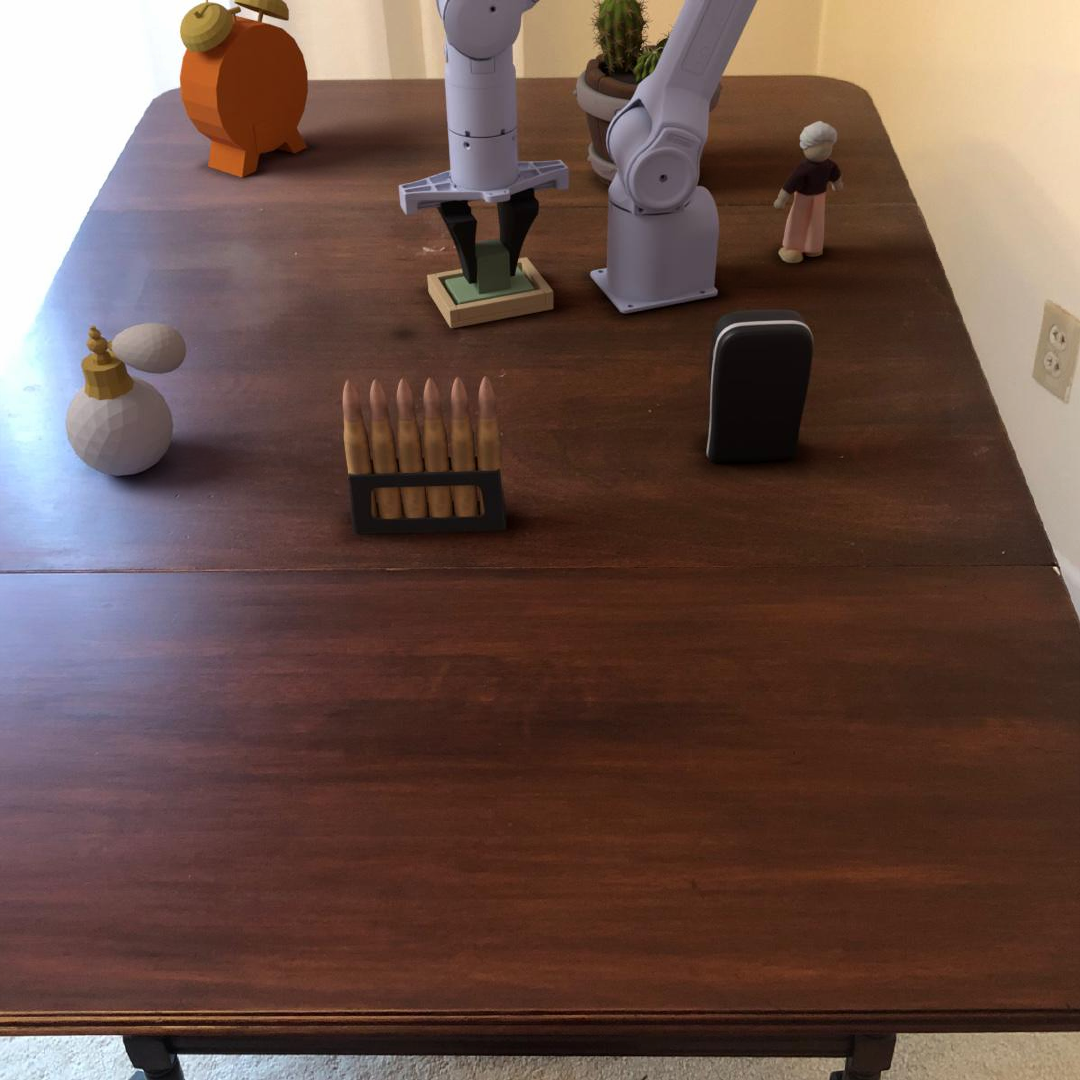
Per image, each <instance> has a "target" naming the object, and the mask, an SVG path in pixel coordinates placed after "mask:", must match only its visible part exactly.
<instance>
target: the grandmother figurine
mask: <svg viewBox="0 0 1080 1080" xmlns="http://www.w3.org/2000/svg"><path fill="white" fill-rule="evenodd" d="M799 140H800V142H799V146H800V148H801V149H802V150H803V153H804V156H805V157H806V158H805V159H804V160H802V161H800V162H798V164H797V165H796V166H795V168H794V169H793V170H792V172H791V173H790V175H789V176H788V178H787V179H786V180H785V181H784V183H783V184H782V186H781V189H780V191H779V193H778V195H777V199H776V200H775V201H774V202H773V207H774V209H775V210H778V211H782V210H784V209H785V207H786V203H787V202H789V199H790V198H791V196H792V195H793V194H794V198H793V199H794V200H793V201H792V205H791V208H790V211H789V212H788V213H789V214H788V216H787V219H786V222H785V227H784V234H783V239H782V246H783V247H781V248H780V249H779V251H778V255H779V257H780V259H781V260H782V261H783V262H785V263H788V264H797V263H800V262H802V261H803V260H804V257H803V255H804V256H807V257H810V258H814V257H819V256H822V255H823V253H824V252H823V249H824V243H825V240H824V239H825V220H826V219H825V215H826V214H825V213H826V195H827V190H828V184H829V183H830V184H831V189H832V190H833V192H836V193H839V192H841V191H842V190H843V189H844V183H843V181H842V171H841V168H840V167H839V165H838V164H837V163H836V162H835V161H833V160H832V159H829V158H830V156H831V154H832V152H833V149H834V148H833V146H834V145H835V143H837V141H838V133H837V131H836V128H835V127H833V126H831V125H830V124H829V123H825V122H824V121H822V120H818V121H815V122H813V123H811V124H810V125H807V126H805V127H803V130H802V131H801V134H800V135H799Z"/></svg>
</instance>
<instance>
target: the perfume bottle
mask: <svg viewBox="0 0 1080 1080" xmlns="http://www.w3.org/2000/svg"><path fill="white" fill-rule="evenodd" d="M89 328H90V330H88V333H87V335H88V337H89V338H88V339H87V341H86V347H87V348H88V350H89V351H90V352H91V353H89V354H87V355H86V356H85V357H83V358H82V360H81V364H80V367H81V370H82V373H83V377H84V380H85V384H83V386H81V387H80V389H79V390H78V391H77V392H76V393H75V395H73V397H72V398H71V400H70V403H69V405H68V407H67V410H66V417H65V423H64V425H65V431H66V436H67V440H68V442H69V444H70V446H71V448H72V450H73V452H74V453H75V455H76V456H77V457H78V458H79V459H80V460H81V461H82V462H83V463H84V464H85V465H86V466H88V467H90V468H91V469H93V470H95V471H97V472H99V473H101V474H106V475H111V476H115V477H119V476H129V475H130V476H131V475H136V474H139V473H141V472H144V471H146V470H148V469H150V468H151V467H153V466H154V465H156V464H157V463H159V461H160V460H161V459H162V457H163V456H164V455H165V454H166V452H167V451H168V449H169V446H170V444H171V442H172V438H173V431H174V421H173V416H172V415H173V414H172V411H171V408H170V407H169V405H168V403H167V401H166V399H165V397H164V396H163V395H162V394H161V392H160V391H158V389H157V388H156V387H155V386H153V384H151V383H149V382H148V381H146V380H144V379H142V378H140V377H139V376H135V375H131V374H129V373H128V369H127V366H128V367H131V368H133V369H135V370H137V371H140V372H144V373H148V374H158V375H162V374H167V373H171V372H173V371H176V370H177V369H179V368H180V367H181V365H182V364H183V363H184V361H185V359H186V355H187V344H186V341H185V339H184V337H183V336H182V333H180V332H179V330H177V329H175V328H174V327H173V326H171V325H167V324H165V323H158V322H146V323H140V324H136V325H133V326H130V327H128V328H126V329H124V330H122V331H121V332H119V333H117V334H116V336H115V337H114V338H113V339H111V340H110V341H107V338H105V337H103V336H102V333H101V331H100V330H99V329H98V328H97V327H96V325H90V326H89Z"/></svg>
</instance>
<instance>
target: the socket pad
mask: <svg viewBox="0 0 1080 1080" xmlns="http://www.w3.org/2000/svg"><path fill="white" fill-rule="evenodd" d="M517 267H519V269H520V270H521V271H522V273H523V274H524V275H525V277H526V278H527V279H528V281H529V282H530V283H531V285H532V286H533V287H534V291H530V292H524V293H519V294H514V295H508V296H503V297H498V298H492V299H487V300H482V301H476V302H471V303H466V304H460V305H456V304H455V303H454V301H453V299H452V298H451V296H450V295H449V293H448V292H447V290H446V284H445V280H447V279H452V278H458V277H463V272H462V268H459V269H454V270H453V269H452V270H447V271H443V272H442V271H441V272H437V273H431V274H426V275H427V277H426V278H427V289H428V294H429V295H430V297H431V298H432V301H433V302H434V303H435V305H436V307H437V308H438V310H439V311H440V313H441V315H442V316H443V318H444V320H445V321H446V323H447V325H448V326H449V328H450V330H451V329H452V330H453V329H456V328H461V327H467V326H472V325H478V324H483V323H488V322H493V321H499V320H503V319H509V318H512V317H513V318H514V317H519V316H524V315H531V314H535V313H539V312H545V311H550V310H554V290H553V289H552V288H551V287H550V285H549V284H548V283H547V281H546V280H545V279H544V278H543V276H542V275H541V274H540V272H539V271H538V269H536V267H535V265H534V264H533V263H532V262H531V261H530V259H529V258H528V257H527V256H525V257H519V259H518V263H517Z"/></svg>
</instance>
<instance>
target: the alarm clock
mask: <svg viewBox="0 0 1080 1080" xmlns="http://www.w3.org/2000/svg"><path fill="white" fill-rule="evenodd" d="M234 4H236V5H237V6H234V7H231V8H229V9H228V8H226V7H225V6H224V5H222V4H220V3H217V2H213V1H212V2H211V1H209V0H205V2H202V3H199V4H197V5H195V6H193V7H192V8H191V9H189V10H188V11H187V12H186V13H185V15H184V16H183V18H182V19H181V22H180V26H179V27H180V28H179V36H180V39H181V41H182V44H183V46H184V47H185V48H186V50H185V52H184V54H183V56H182V59H181V60H182V62H181V66H180V72H179V73H180V74H179V85H180V98H181V101H182V104H183V107H184V110H185V112H186V116H187V117H188V119H189V120H190V121H191V123H192V124H193V126H194V127H195V128H196V130H197V131H198V132H199V133H200V134H202V135H203V136H205V137H206V138H207V139H209V140H210V147H209V157H208V162H207V167H208V168H211V169H214V170H217V171H220V172H223V173H227V174H230V175H232V176H235V177H239V178H241V179H242V178H244V177H246V176H248V175H251V174H253V173H255V172H257V167H258V162H259V157H260V154H264V153H268V152H269V153H270V152H273V151H276V149H278V150H281V151H285V152H287V153H291V154H296V153H299V152H300V151H303V150H304V149H307V148H308V146H307V145H306V143H305V140H304V139H303V136H302V135H301V133H300V131H299V130H298V126H299V124H300V122H301V120H302V117H303V115H304V113H305V110H306V109H305V108H306V104H307V99H308V94H309V80H308V79H309V78H308V76H309V75H308V73H309V72H308V69H307V64H306V61H305V56H304V53H303V52H302V50H301V47H300V45H298V42H297V41H296V39H295V38H294V37H293V36H292V35H291V34H289V33H288V32H287V31H286V30H285V29H284V28H282V27H280V26H277V25H275V24H272V23H267V22H264V21H263V20H264V19H263V18H264V16H266V17H270V18H273V19H277V20H281V21H289V19H290V10H289V7H288V5H287V3H286V2H285V1H284V0H234ZM241 7H242V8H244V9H247V10H250V11H252V12H254V13H258V15H257V20H255V19H250V18H247V17H244V16H239V15H237V14H239V13H241V12H242V8H241Z"/></svg>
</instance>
